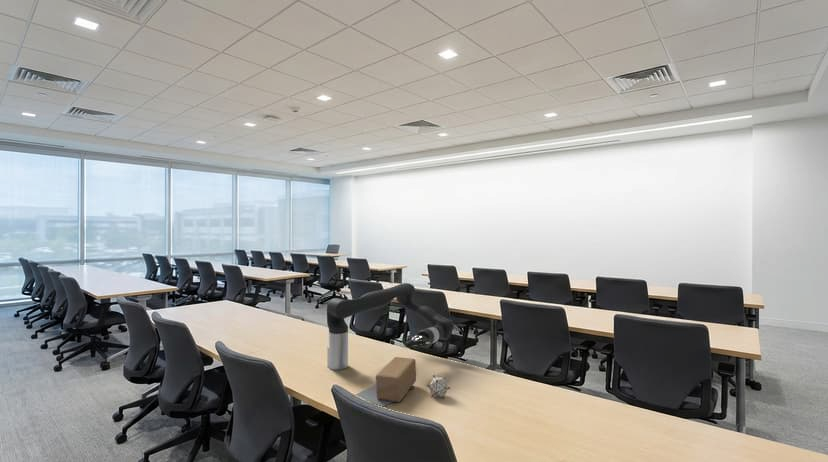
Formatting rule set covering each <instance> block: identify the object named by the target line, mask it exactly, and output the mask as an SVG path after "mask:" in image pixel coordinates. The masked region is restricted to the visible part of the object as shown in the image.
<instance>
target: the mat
mask: <svg viewBox="0 0 828 462" xmlns="http://www.w3.org/2000/svg"><path fill="white" fill-rule="evenodd" d="M414 390H415V385H412V386H411V388H410V389H409V390H408V392H407V393H406V394H405V395H407V394H409V393H411V392H413V391H414ZM355 395H357V396H359V397H361V398H363V399H365V400H367V401H369V402H372V403H375V404H377V405H376V406H378V405H380V406H379V407H381V406H383V407H382V408H385V407H387V406H389V405H391V404H392V403H395V402H394V401H387V400H380V399H377V392H376V384H374V385H372V386H369V387H368V388H365V389H364V390H362V391H360V392H358V393H355ZM405 395H404V396H405ZM369 402H368V403H369ZM372 403H371V404H372ZM375 404H374V405H375Z"/></svg>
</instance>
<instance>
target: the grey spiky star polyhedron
mask: <svg viewBox="0 0 828 462" xmlns="http://www.w3.org/2000/svg"><path fill="white" fill-rule="evenodd" d="M432 376H433V378H432V380H431V381H430V383H429V384H427V385H426V386H427V387H429V391H430V393H431V398H433V397H437V398H438V397H439V398H442V399H443V400H445V395H446V393H447V391H448V390H450V389H451V387H449V385H448V383H447V381H446V378H447V376H444V377H440V376H439V377H438V376H435V375H434V374H433V375H432Z"/></svg>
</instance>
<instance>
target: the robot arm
mask: <svg viewBox="0 0 828 462" xmlns="http://www.w3.org/2000/svg"><path fill="white" fill-rule="evenodd" d="M415 291H416V288H415V286H414V285H413V284H411V283H408V282H407V283H405V282H403V283H400V284H397V285H394V286H391V287H389V288H384V289H380V290H379V289H378V290H374V291H370V292H367V293H365V294H363V295H362V296H360V297H357V298H353V299H343V298H339V297H334V298H331V299H330V300H329V301H328V303H327V305H326V323H327V328H328V346H327V367H328V368H329V369H331V370H335V371H337V370H338V371H339V370H344V369H347V368H348V367H349V326H348V324H347V323H346V321H345V319H346V318H349V317H352V316H355V315H356V314H360V313H364V312H365V313H366V312H369V311H374V310H378V309H381V308H384V307H385V306H387V305H388V304H389V303H391V302H392V301H393V300H394V299H396V302H397V303H398V304H400V305H401V306H403V307H405V308H406V309H408V310H409V311H411V312H413V313H414V314H416V315H417V316H419V317H420V318H422V319H423V320H424V321H425V322H426V323H427V324H429V325H430V327H428V328H424V329H421V330H419V331H418V332H417V334H416V335H413V336H412V337H411V336H410V335H407V336H406V341H405V343H404V345H405V347H406V348H411V347H428V346H430V345H432V344H434V343H435V342H437V341H439V340H440V341H446V340H448V339H450V337H451V336H452V335H451V334H452V333H453V331H454V329H455V323H454V322H453V321H452V320H451V319H450V318H447V317H444V316H443V315H440V314H439V313H438V312H436V311H435V310H434V309H433V308H431V307H430V306H427V305H419V304H417V303H415V302H414V300H413V299H414V295H415ZM439 323H440V324H439Z"/></svg>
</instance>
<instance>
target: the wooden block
mask: <svg viewBox="0 0 828 462" xmlns="http://www.w3.org/2000/svg"><path fill="white" fill-rule="evenodd" d="M416 365H417V364H416V359H415V358H411V357H410V358H409V357H400V356H399V357H398V356H396V357H394V358H392V359H391V360H390V361H389V362H388V363H387V364H386V365H384V367H383V368H382V369H381V370H380V371H379V372H377V374H376V376H375V385H376V392H377V399H380V400H387V401H394V402H393V403H399V402H401V400H402V399H403V398H404V397H405V394H406V393H407V392H408V390H409V389H410V388H411V386H414V384H415V383H416V382H417V366H416ZM406 395H407V394H406Z"/></svg>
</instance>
